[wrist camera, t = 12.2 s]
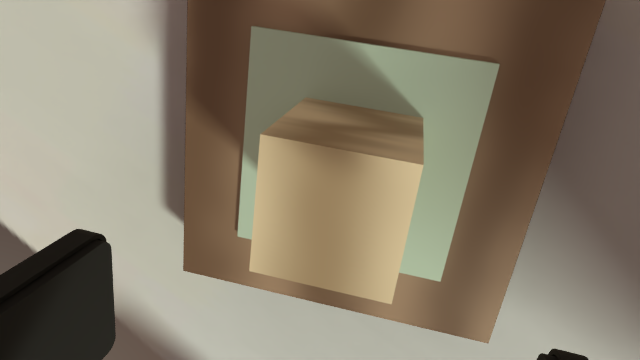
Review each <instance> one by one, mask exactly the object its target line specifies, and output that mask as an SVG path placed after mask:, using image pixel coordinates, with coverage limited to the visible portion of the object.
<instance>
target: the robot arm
mask: <svg viewBox="0 0 640 360" xmlns="http://www.w3.org/2000/svg"><path fill="white" fill-rule="evenodd" d="M114 341H115V314H114V294H113V274H112V253H111V246H110V244H109V243H107V242H106V238H105V237H104V236H103V235H102V234H98V233H94V232H90V231H86V230H82V229H76V230H73V231H72V232H70V233H68V234H67V235H65V236H63V237H62V238H60V239H59V240H57V241H55V242H54V243H52V244H50V245H49V246H47V247H45V248H44V249H42V250H41V251H39V252H37V253H36V254H34V255H33V256H31V257H29V258H27V259H26V260H24V261H23V262H21V263H19V264H18V265H16V266H14V267H13V268H11V269H9V270H8V271H6V272H5V273H3V274H1V275H0V360H102V359H103V358H104V357H105V356H106V355H107V354H108V352H109V351H110V350H111V348H112V346H113V344H114ZM537 360H588V358H587V357H585V356H582V355H578V354H574V353H570V352H566V351H562V350H558V349H552V350H551V351H550V352H549V354H548V355H547V354H543V353H542V354H540V355H539V356H538V358H537Z"/></svg>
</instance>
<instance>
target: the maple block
mask: <svg viewBox="0 0 640 360" xmlns="http://www.w3.org/2000/svg"><path fill="white" fill-rule="evenodd" d="M423 166H424V135H423V118H421V117H415V116H410V115H404V114H398V113H393V112H387V111H381V110H375V109H370V108H364V107H358V106H352V105H347V104H341V103H335V102H329V101H324V100H318V99H312V98H307V97H306V98H304V99H303V100H302V101H301V102H299V103H298V104H297V105H296V106H294V107H293V108H292V109H291V110H290V111H288V112H287V113H286V114H285V115H283V116H282V117H281V118H280V119H278V120H277V121H276V122H275V123H274V124H272V125H271V126H270V127H269V128H267V129H266V130H265V131H264V132H262V133H261V134H260V144H259V156H258V168H257V181H256V193H255V205H254V218H253V230H252V242H251V255H250V267H249V271H251V272H255V273H260V274H264V275H268V276H272V277H277V278H281V279H285V280H289V281H294V282H298V283H302V284H307V285H311V286H315V287H319V288H324V289H328V290H332V291H336V292H341V293H345V294H349V295H353V296H358V297H362V298H366V299H371V300H375V301H379V302H383V303H388V304H392V301H393V296H394V292H395V288H396V283H397V279H398V275H399V270H400V266H401V262H402V257H403V253H404V248H405V244H406V240H407V235H408V231H409V227H410V222H411V218H412V214H413V209H414V205H415V201H416V196H417V192H418V188H419V183H420V179H421V175H422V170H423Z"/></svg>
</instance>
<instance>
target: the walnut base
mask: <svg viewBox="0 0 640 360" xmlns="http://www.w3.org/2000/svg"><path fill="white" fill-rule="evenodd" d="M605 1H606V0H188V3H187V68H186V134H185V199H184V265H183V271H187V272H192V273H196V274H200V275H204V276H208V277H213V278H217V279H221V280H225V281H229V282H233V283H238V284H242V285H246V286H250V287H254V288H259V289H263V290H267V291H271V292H275V293H279V294H284V295H288V296H292V297H296V298H300V299H305V300H309V301H313V302H317V303H321V304H325V305H330V306H334V307H338V308H342V309H346V310H351V311H355V312H359V313H363V314H367V315H371V316H376V317H380V318H384V319H388V320H392V321H397V322H401V323H405V324H409V325H413V326H418V327H422V328H426V329H430V330H434V331H438V332H443V333H447V334H451V335H455V336H459V337H464V338H468V339H472V340H476V341H480V342H484V343H489V340H490V337H491V334H492V331H493V328H494V325H495V322H496V319H497V316H498V314H499V311H500V308H501V305H502V302H503V299H504V296H505V293H506V290H507V287H508V284H509V281H510V279H511V276H512V273H513V270H514V267H515V264H516V261H517V258H518V255H519V252H520V249H521V246H522V243H523V241H524V238H525V235H526V232H527V229H528V226H529V223H530V220H531V217H532V214H533V211H534V208H535V206H536V203H537V200H538V197H539V194H540V191H541V188H542V185H543V182H544V179H545V176H546V173H547V170H548V168H549V165H550V162H551V159H552V156H553V153H554V150H555V147H556V144H557V141H558V138H559V135H560V133H561V130H562V127H563V124H564V121H565V118H566V115H567V112H568V109H569V106H570V103H571V100H572V97H573V95H574V92H575V89H576V86H577V83H578V80H579V77H580V74H581V71H582V68H583V65H584V62H585V60H586V57H587V54H588V51H589V48H590V45H591V42H592V39H593V36H594V33H595V30H596V27H597V25H598V22H599V19H600V16H601V13H602V10H603V7H604V4H605ZM306 97H307V98H312V99H318V100H324V101H329V102H335V103H341V104H347V105H352V106H358V107H364V108H370V109H375V110H381V111H387V112H393V113H398V114H404V115H410V116H415V117H421V118H423V135H424V166H423V170H422V175H421V179H420V183H419V188H418V192H417V196H416V201H415V205H414V209H413V214H412V218H411V222H410V227H409V231H408V235H407V240H406V244H405V248H404V253H403V257H402V262H401V266H400V270H399V275H398V279H397V283H396V288H395V292H394V296H393V301H392V304H388V303H383V302H379V301H375V300H371V299H366V298H362V297H358V296H353V295H349V294H345V293H341V292H336V291H332V290H328V289H324V288H319V287H315V286H311V285H307V284H302V283H298V282H294V281H289V280H285V279H281V278H277V277H272V276H268V275H264V274H260V273H255V272H251V271H249V267H250V255H251V242H252V230H253V218H254V205H255V193H256V181H257V168H258V156H259V144H260V134H261V133H262V132H264V131H265V130H266V129H267V128H269V127H270V126H271V125H272V124H274V123H275V122H276V121H277V120H278V119H280V118H281V117H282V116H283V115H285V114H286V113H287V112H288V111H290V110H291V109H292V108H293V107H294V106H296V105H297V104H298V103H299V102H301V101H302V100H303V99H304V98H306Z"/></svg>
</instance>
